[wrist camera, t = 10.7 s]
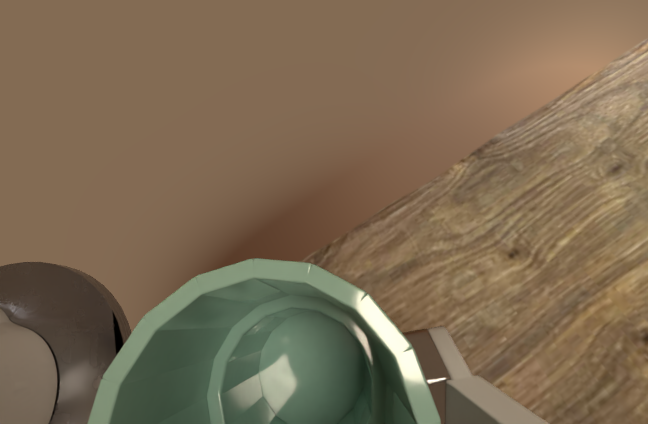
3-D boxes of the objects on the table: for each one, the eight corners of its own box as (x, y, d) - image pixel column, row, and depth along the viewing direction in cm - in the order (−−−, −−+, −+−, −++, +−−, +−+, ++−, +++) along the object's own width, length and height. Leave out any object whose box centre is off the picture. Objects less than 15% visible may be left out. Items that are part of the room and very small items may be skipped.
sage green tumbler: (262, 467, 12) (77, 790, 4) (234, 317, 14) (74, 313, 6) (402, 420, 13) (518, 627, 4) (354, 278, 15) (367, 221, 6)
